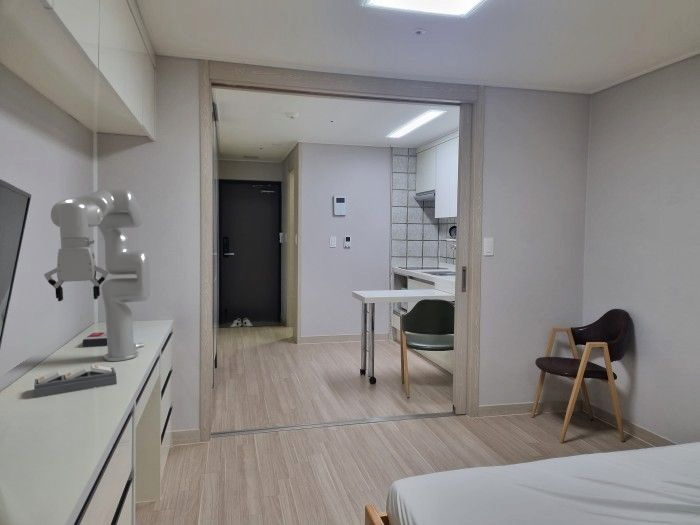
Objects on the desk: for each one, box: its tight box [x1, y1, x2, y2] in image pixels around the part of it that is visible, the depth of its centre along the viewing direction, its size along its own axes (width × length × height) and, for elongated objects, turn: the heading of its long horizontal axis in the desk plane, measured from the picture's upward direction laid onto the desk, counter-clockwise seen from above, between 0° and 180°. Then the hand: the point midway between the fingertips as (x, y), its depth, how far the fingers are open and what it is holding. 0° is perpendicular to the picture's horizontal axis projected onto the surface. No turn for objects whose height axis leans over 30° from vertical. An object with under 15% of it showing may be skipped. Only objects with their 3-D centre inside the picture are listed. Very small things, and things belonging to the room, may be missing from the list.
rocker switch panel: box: [33, 367, 118, 398], centre depth 162 cm, size 23×9×4 cm, turn 122°
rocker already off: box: [90, 364, 112, 374], centre depth 165 cm, size 6×4×1 cm
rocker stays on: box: [37, 369, 61, 384], centre depth 157 cm, size 6×4×1 cm
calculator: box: [82, 331, 107, 348], centre depth 221 cm, size 11×4×15 cm
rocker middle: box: [64, 365, 88, 380], centre depth 161 cm, size 6×4×1 cm
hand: (78, 299), depth 150 cm, fingers open, 9 cm apart
